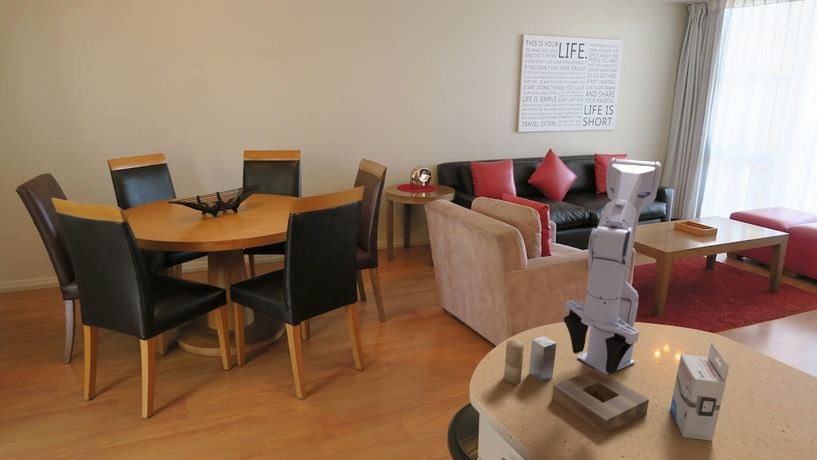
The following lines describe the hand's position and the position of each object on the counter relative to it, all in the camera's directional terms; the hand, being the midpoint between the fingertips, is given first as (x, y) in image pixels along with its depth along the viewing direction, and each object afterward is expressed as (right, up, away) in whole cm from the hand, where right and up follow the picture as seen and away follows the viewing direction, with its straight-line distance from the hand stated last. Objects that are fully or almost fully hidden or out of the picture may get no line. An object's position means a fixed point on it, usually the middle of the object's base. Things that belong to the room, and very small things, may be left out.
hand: (594, 361), depth 95 cm
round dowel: (-13, -6, +11) cm, 18 cm away
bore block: (+2, -9, +3) cm, 10 cm away
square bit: (-7, -6, +12) cm, 15 cm away
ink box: (+17, -11, -2) cm, 20 cm away
